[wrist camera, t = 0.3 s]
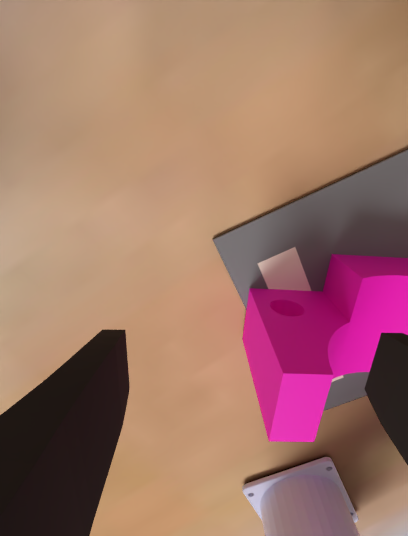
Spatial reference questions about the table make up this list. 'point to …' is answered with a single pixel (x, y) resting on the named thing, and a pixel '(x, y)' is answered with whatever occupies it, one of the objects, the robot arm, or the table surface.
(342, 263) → the toy block
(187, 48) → the table surface
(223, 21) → the table surface
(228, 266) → the board
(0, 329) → the table surface
